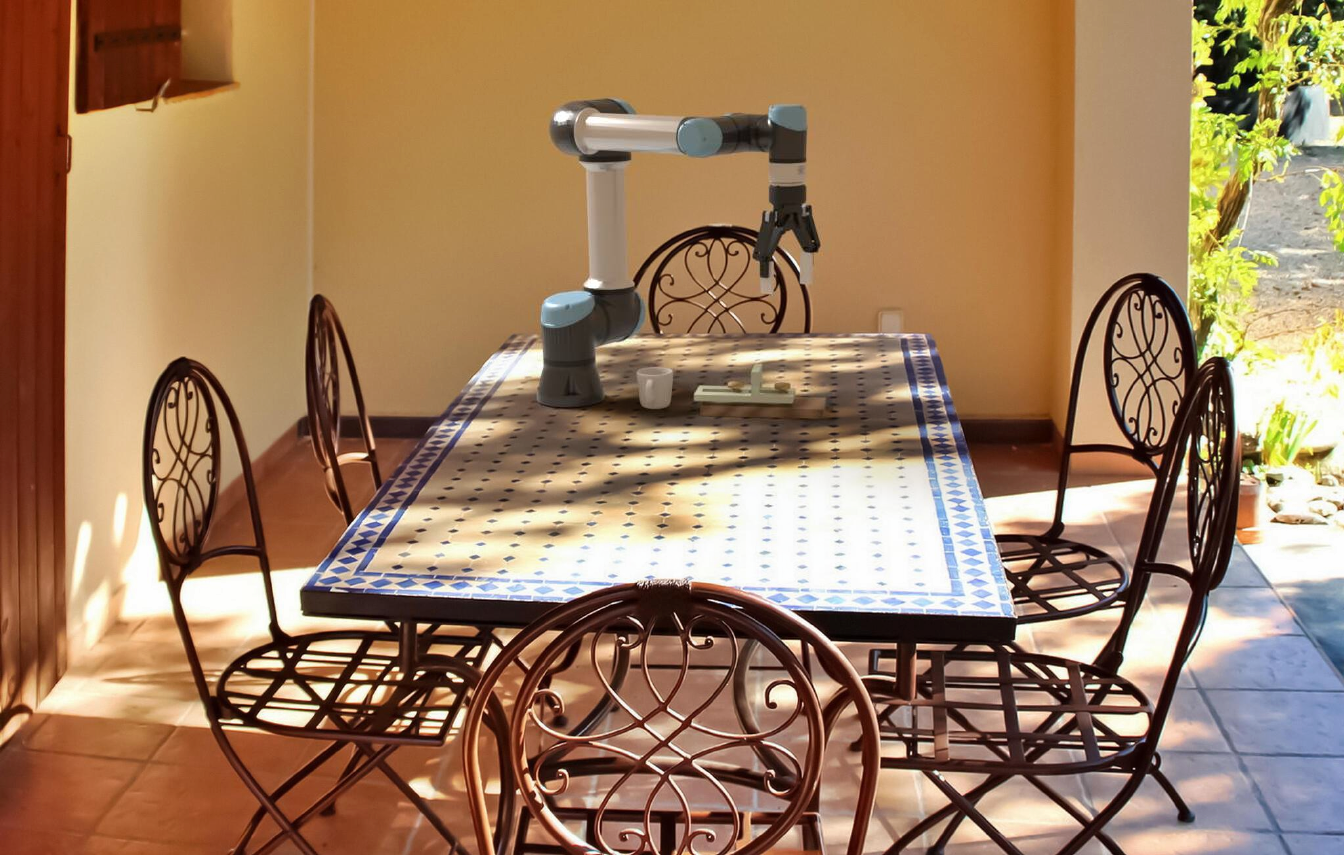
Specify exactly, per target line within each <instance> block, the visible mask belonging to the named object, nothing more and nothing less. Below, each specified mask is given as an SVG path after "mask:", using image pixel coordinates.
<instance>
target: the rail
mask: <svg viewBox="0 0 1344 855" xmlns="http://www.w3.org/2000/svg"><path fill="white" fill-rule="evenodd" d="M727 386H728V388H732V392H734V393H740V388H743V387H745V384H744V382H743V381H739V380H738V381H737V380H736V381H729V382H727ZM773 387H774V388H775V389H778V390H779V394H786V390H788V389H790V388H791V383H789V382H783V381H782V382H775V383H774V386H773ZM699 408H700V413H699V414H700V416H705V417H706V416H707V417H708V416H709V417H711V416H713V417H737V418H738V417H740V418H741V417H743V418H745V417H747V418H748V417H749V418H777V419H779V418H780V419H781V418H782V419H783V418H784V419H816V420H817V419H818V420H819V419H820V420H823V419H824V416H825V412H826V408H827V398H826V397H812V396H811V397H807V396H806V397H805V396H795V398H794V401H793V403H756V402H717V401H701V405H700V407H699Z"/></svg>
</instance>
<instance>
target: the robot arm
mask: <svg viewBox="0 0 1344 855" xmlns="http://www.w3.org/2000/svg"><path fill="white" fill-rule="evenodd" d="M807 116H808V115H807V108H806V107H805V106H804V105H802V104H799V103H798V104H796V103H793V104H792V103H791V104H789V103H788V104H787V103H785V104H783V103H782V104H780V103H779V104H773V105H770V106H769V109H768V114H759V113H756V114H755V113H743V112H732V113H725V114H724V115H721V116H681V115H680V116H679V115H678V116H677V115H659V114H658V115H657V114H656V115H654V114H648V115H647V114H638V113H637V111H636V110H635V108H633V106H632V105H631V104H630V103H628V102H627V101H625V100H623V99H619V98H608V97H606V98H604V97H603V98H595V99H585V100H584V99H583V100H572V101H569V102H565V103H563V104H562V105H560V106H559V107H557V109H556V110H554V112H553V114H552V115H551V117H550V121H549V125H548V130H549V131H548V133H549V136H550V140H551V141H552V143H553V145H554V146H555V147H556V149H558V150H559V151H560V152H562V153H563V154H565V155H568V156H571V157H572V156H574V157H578V163H579V164H580V165H581V166H582V167H583V168H584V169H585V174H586V176H585V178H586V181H585V182H586V205H587V206H586V207H587V232H588V233H587V234H588V235H587V236H588V261H589V262H588V265H589V266H588V267H589V277H588V278H587V280H585V282H584V283H583V284H582V285H583V286H582V288H583V290H571V291H567V292H566V291H565V292H564V291H563V292H559V293H556V294H553V295H550V296H549V297H547V298H546V299H544V300H543V302H542V305H541V315H540V323H541V341H542V344H541V345H542V359H543V362H542V364H543V365H542V366H543V367H542V370H541V374H540V378H539V382H538V387H537V388H536V401H537V402H538V403H539V404H540V405H544V406H548V407H555V408H578V407H587V406H591V405H592V406H593V405H595V404H599V403H601V402H603V401H604V400H605V399H606V398H605V396H606V395H605V394H606V392H605V391H606V390H605V386H604V384H602V381H601V377H600V376H601V375H600V373H599V372H600V371H599V370H598V367H597V358H596V357H597V356H596V354H597V353H596V348H598V347H602V346H606V345H610V344H613V343H614V344H615V343H620V342H624V341H626V340H627V339H631V338H633V337H634V336H636V335H637V334H638V332H640V330H641V329H642V328H643V326H644V324H645V322H646V321H645V319H646V314H647V313H646V312H647V311H646V303H645V300H644V299H643V298H641V297H642V296H641V294H640V292H638V290H636V288H635V286H636V285H635V281H633V280H632V279H631V277H629V274H628V243H627V242H628V237H627V236H628V234H627V202H626V200H627V198H626V197H627V196H626V195H627V194H626V168H627V167H628V166H629V165H630V163H631V162H632V153H643V154H644V153H646V154H647V153H648V154H649V153H650V154H662V155H663V154H666V155H667V154H669V155H682V156H683V155H685V156H687V157H690V158H694V159H695V158H696V159H705V158H709V157H714V156H715V157H716V156H721V155H723V156H724V155H731V154H738V153H739V154H741V153H768V182H770V183H771V184H770V185H769V186H768V203H769V204H771V205H772V210H771V211H770V210H763V211H762V213H761V215H762V217H761V224H760V227H759V231H758V234H757V238H756V241H755V245H754V249H753V251H752V254H751V256H752V259H753V260H755V261H756V262H759V278H760V294H764V295H765V294H766V295H774V290H775V289H774V284H775V283H774V282H775V281H774V275H775V274H774V273H775V271H774V270H775V269H774V268H775V265H774V262H775V261H772V258H773V256H774V254H775V252H776V250H777V248H778V245H779V244H780V241H781V239H782V237H783V235H785V234H786V233H787V232H789V231H792V233H793V234H794V237H795V238H796V240H797V243H799V246H800V248H801V250H802V251H800V252H799V284H801V285H809V286H812V285H814V282H813V281H814V278H813V277H814V254H815V253H818V252H819V249H820V247H821V242H820V238H819V234H818V230H817V227H816V223H815V220H814V217H813V216H814V215H813V207H812V205H811V204H806V202H807V186H806V184H804V183H805V182H806V181H807V141H808V140H807V138H808V129H809V127H808V119H807Z"/></svg>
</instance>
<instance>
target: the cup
mask: <svg viewBox="0 0 1344 855" xmlns="http://www.w3.org/2000/svg"><path fill="white" fill-rule="evenodd" d="M636 381H637V388H638V398H639V403H640V405H641V406H642V408H645V409H649V410H660V409H665V408H667V407H669V406H670V404H671V401H672V393H673V392H672V389H673V381H674V371H673V369H671V368H669V367H663V366H651V367H650V366H649V367H643V368H640V369H638V370H637V371H636Z"/></svg>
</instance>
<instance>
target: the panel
mask: <svg viewBox="0 0 1344 855" xmlns="http://www.w3.org/2000/svg"><path fill="white" fill-rule="evenodd" d="M796 390H797V389H796V387H790V389H788V390H786V394H779V390H778V389H775V388H774V386H763V363H754V365H753V367H752V369H751V371H750V386H744V387H743V388H740V393H734V392H732V388H728V385H699V384H698V387H697V389H696V390H695V391H694V394H693V401H694V402H703V401H717V402H756V403H793V401H794V398H795V397H796V393H797V392H796Z"/></svg>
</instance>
